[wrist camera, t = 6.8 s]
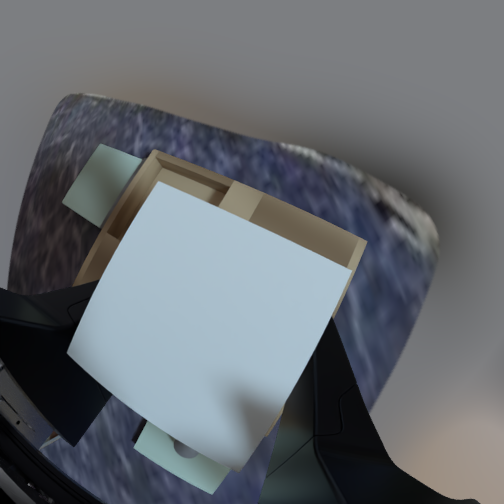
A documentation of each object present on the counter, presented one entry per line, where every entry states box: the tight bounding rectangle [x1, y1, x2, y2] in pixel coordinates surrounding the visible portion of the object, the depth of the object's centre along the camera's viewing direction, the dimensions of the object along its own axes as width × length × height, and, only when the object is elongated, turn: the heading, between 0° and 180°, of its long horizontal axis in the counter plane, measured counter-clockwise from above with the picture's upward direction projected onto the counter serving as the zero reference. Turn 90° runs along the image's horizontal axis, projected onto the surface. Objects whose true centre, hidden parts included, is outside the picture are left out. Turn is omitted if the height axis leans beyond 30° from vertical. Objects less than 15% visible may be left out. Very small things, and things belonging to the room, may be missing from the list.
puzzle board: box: [62, 144, 367, 494], centre depth 17 cm, size 18×22×2 cm
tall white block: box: [67, 181, 352, 473], centre depth 10 cm, size 4×4×11 cm
